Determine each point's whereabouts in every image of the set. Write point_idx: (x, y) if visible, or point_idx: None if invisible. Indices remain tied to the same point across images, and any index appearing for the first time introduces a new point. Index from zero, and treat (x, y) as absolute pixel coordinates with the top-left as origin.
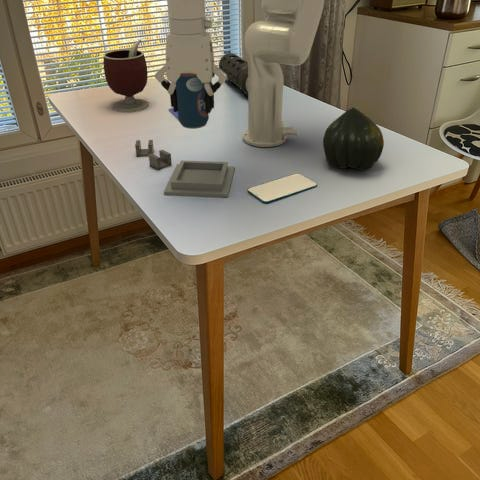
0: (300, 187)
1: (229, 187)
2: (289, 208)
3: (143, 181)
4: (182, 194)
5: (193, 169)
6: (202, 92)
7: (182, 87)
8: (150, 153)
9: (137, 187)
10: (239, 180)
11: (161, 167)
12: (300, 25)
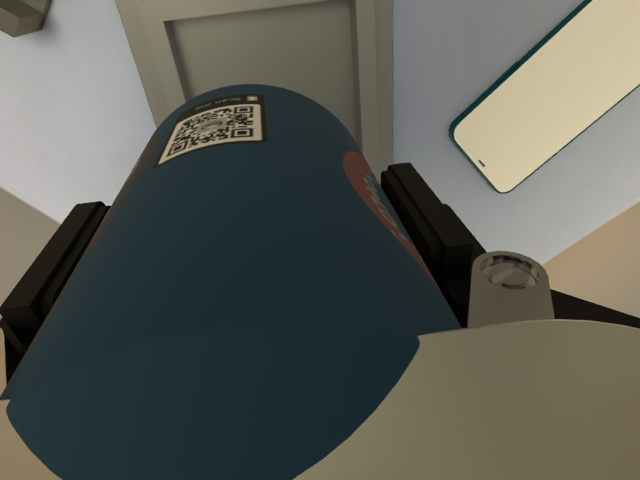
0: (630, 74)
1: (392, 137)
2: (561, 196)
3: (56, 145)
4: None
5: (212, 17)
6: None
7: None
8: None
9: (68, 191)
10: (417, 51)
11: (45, 11)
12: None
